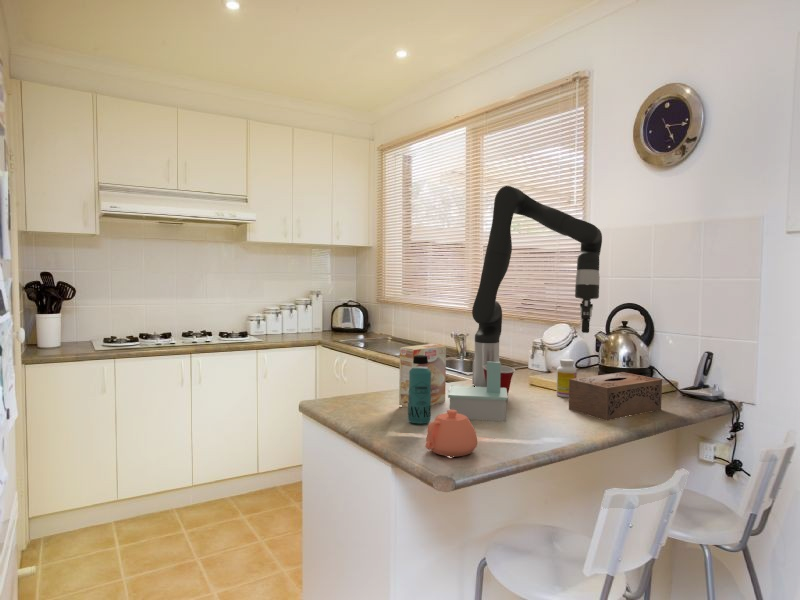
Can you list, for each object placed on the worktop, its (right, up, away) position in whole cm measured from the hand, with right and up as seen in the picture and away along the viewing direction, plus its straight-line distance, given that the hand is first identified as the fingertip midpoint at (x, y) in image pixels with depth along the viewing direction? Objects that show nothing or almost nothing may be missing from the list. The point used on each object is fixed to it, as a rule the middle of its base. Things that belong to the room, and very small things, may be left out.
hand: (585, 332), depth 175 cm
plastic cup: (-29, -24, +1) cm, 37 cm away
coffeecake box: (-54, -24, -3) cm, 59 cm away
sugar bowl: (-50, -26, -48) cm, 74 cm away
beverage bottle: (-56, -25, -26) cm, 67 cm away
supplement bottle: (-3, -23, +11) cm, 26 cm away
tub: (-38, -24, -17) cm, 48 cm away
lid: (-38, -17, -17) cm, 45 cm away
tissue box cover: (+7, -25, -7) cm, 26 cm away
